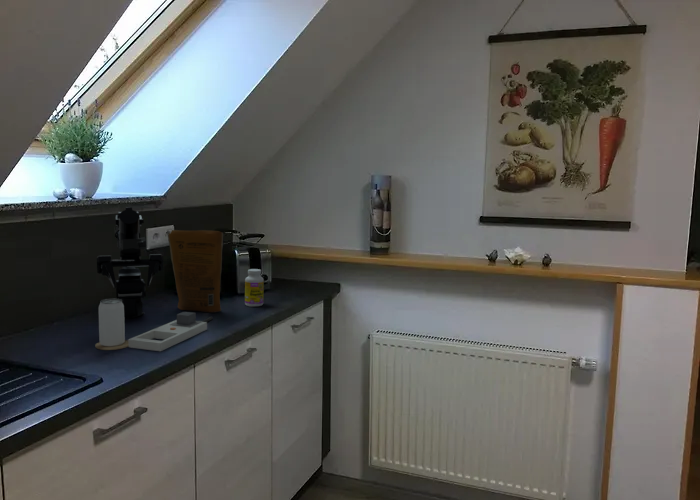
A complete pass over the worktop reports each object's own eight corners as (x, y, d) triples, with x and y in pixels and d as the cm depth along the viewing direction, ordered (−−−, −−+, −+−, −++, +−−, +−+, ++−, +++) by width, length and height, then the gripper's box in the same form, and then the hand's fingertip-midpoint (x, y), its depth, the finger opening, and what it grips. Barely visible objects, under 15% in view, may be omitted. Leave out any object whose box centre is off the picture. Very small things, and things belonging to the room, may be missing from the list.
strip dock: (128, 347, 163) (128, 338, 163) (178, 326, 186) (178, 318, 186) (160, 351, 161) (160, 342, 160) (207, 329, 183) (207, 321, 183)
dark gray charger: (176, 324, 180) (176, 314, 179) (184, 321, 184) (184, 311, 183) (188, 325, 179) (188, 315, 178) (195, 322, 182) (195, 312, 182)
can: (110, 348, 161) (109, 304, 159) (94, 344, 164) (92, 301, 162) (130, 342, 166) (129, 300, 165) (113, 339, 169) (112, 297, 168)
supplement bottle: (248, 307, 213) (248, 271, 211) (242, 303, 219) (242, 268, 217) (266, 306, 216) (266, 270, 214) (260, 302, 222) (260, 268, 220)
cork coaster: (87, 347, 162) (87, 346, 162) (110, 339, 170) (110, 337, 170) (116, 351, 159) (116, 350, 159) (137, 342, 168) (137, 341, 168)
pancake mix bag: (219, 314, 202) (218, 231, 198) (167, 310, 206) (166, 228, 202) (227, 310, 208) (227, 229, 205) (177, 306, 213) (176, 227, 209)
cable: (198, 327, 185) (198, 324, 185) (195, 327, 186) (195, 323, 185) (213, 319, 196) (213, 316, 195) (210, 319, 196) (210, 316, 196)
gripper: (95, 228, 176) (96, 272, 167) (162, 227, 183) (166, 269, 174) (97, 251, 184) (97, 294, 176) (160, 250, 191) (164, 291, 183)
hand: (131, 286), depth 177 cm, fingers open, 9 cm apart
